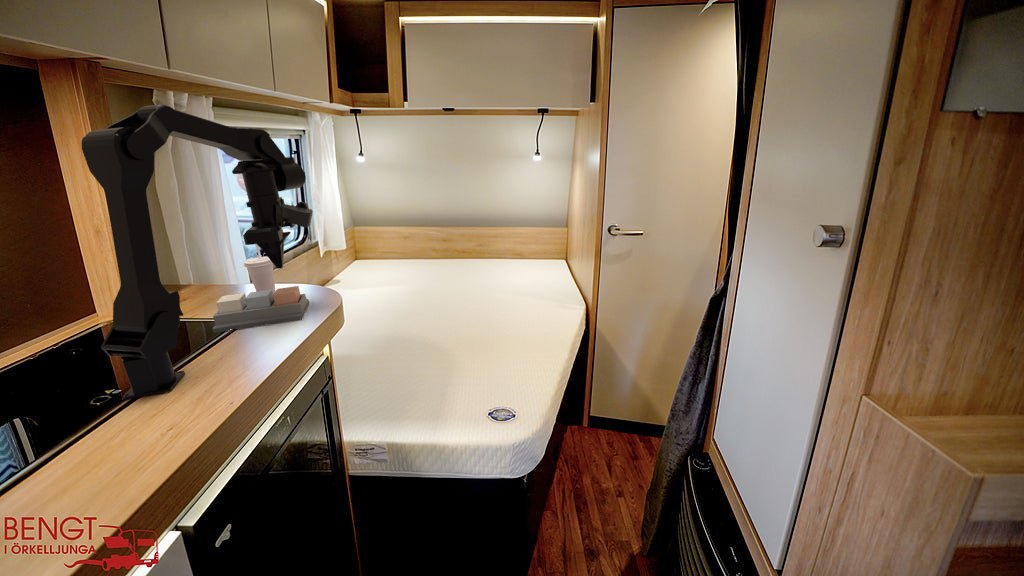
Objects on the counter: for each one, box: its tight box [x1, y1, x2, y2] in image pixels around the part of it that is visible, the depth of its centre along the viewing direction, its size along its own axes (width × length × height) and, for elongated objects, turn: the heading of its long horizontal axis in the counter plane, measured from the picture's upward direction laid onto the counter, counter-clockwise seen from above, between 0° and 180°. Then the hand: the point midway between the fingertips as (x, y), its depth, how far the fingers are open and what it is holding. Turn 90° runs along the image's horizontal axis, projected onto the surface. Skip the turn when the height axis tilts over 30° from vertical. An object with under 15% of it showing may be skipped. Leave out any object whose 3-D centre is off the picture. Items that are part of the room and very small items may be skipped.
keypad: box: [212, 293, 310, 334], centre depth 102 cm, size 11×17×3 cm, turn 105°
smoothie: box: [243, 244, 276, 294], centre depth 114 cm, size 6×6×14 cm
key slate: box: [245, 290, 274, 310], centre depth 101 cm, size 4×4×2 cm
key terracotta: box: [273, 285, 301, 306], centre depth 103 cm, size 4×4×2 cm
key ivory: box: [216, 292, 247, 314], centre depth 100 cm, size 4×4×2 cm
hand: (280, 267), depth 100 cm, fingers closed
